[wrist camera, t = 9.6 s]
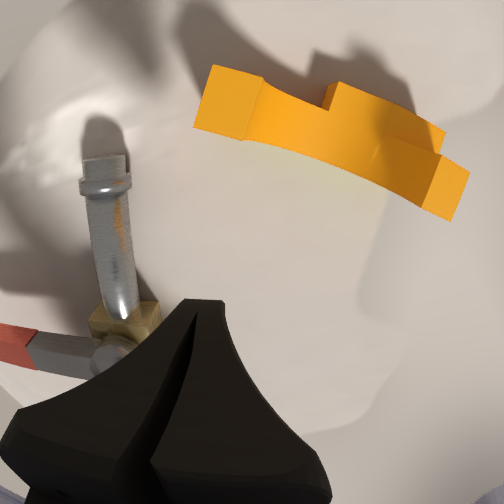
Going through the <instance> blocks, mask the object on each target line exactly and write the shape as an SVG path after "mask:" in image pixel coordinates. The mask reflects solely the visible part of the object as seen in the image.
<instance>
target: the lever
mask: <svg viewBox="0 0 504 504" xmlns="http://www.w3.org/2000/svg"><path fill="white" fill-rule="evenodd" d="M136 347H137V345H136V344H135V343H133V342H132V341H131V340H129V339H127V338H125V337H123V336H120V335H107V336H105V337H103V338H102V339H97V338H88V337H79V336H71V335H64V334H57V333H50V332H43V331H38V330H36V329H30V328H24V327H18V326H13V325H7V324H2V323H0V361H3V362H6V363H10V364H13V365H17V366H21V367H25V368H29V369H33V370H41V371H45V372H49V373H54V374H59V375H64V376H69V377H74V378H80V379H85V380H90V379H92V378H93V377H95V376H97V375H98V374H100V373H102V372H103V371H105V370H107V369H108V368H110V367H111V366H112V365H114V364H115V363H117V362H118V361H119V360H121V359H122V358H124V357H125V356H126V355H127V354H129V353H130V352H131V351H132V350H133V349H134V348H136Z"/></svg>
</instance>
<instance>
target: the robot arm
mask: <svg viewBox="0 0 504 504" xmlns="http://www.w3.org/2000/svg"><path fill="white" fill-rule="evenodd" d="M0 456H1V458H2V460H3V461H4V462H5V463H6V464H7V465H8V466H9V467H10V468H11V469H12V470H13V471H14V472H15V473H16V474H17V475H18V476H19V477H20V478H21V479H22V480H23V481H24V482H25V483H26V484H27V485H29V486H30V489H29V492H28V495H27V497H26V499H25V498H23V497H21V496H19V495H17V494H15V493H13V492H12V491H10V490H8V489H6V488H4V487H2V486H1V485H0V504H329V503H330V502H331V499H332V497H333V496H332V490H331V486H330V483H329V480H328V477H327V474H326V472H325V470H324V467H323V465H322V463H321V461H320V459H319V457H318V455H317V453H316V451H314V450H313V449H312V448H311V447H310V446H309V445H308V444H306V443H305V442H304V441H303V440H302V439H301V438H300V437H299V436H298V435H297V434H296V433H295V432H294V431H293V430H292V429H291V428H290V427H289V426H288V425H287V424H286V423H285V422H284V421H283V420H282V419H281V418H280V417H279V415H278V414H277V413H276V412H275V411H274V409H273V408H272V407H271V406H270V404H269V403H268V402H267V401H266V399H265V398H264V397H263V395H262V394H261V393H260V391H259V390H258V388H257V387H256V385H255V384H254V382H253V381H252V379H251V377H250V376H249V374H248V372H247V371H246V369H245V367H244V365H243V363H242V361H241V359H240V357H239V355H238V353H237V351H236V348H235V346H234V344H233V341H232V338H231V335H230V332H229V329H228V326H227V322H226V318H225V303H224V302H223V301H222V300H201V299H184V300H182V301H181V302H180V303H179V305H178V306H177V307H176V308H175V309H174V310H173V311H172V312H171V313H170V314H169V316H168V317H167V318H166V319H165V320H164V321H163V322H162V323H161V324H160V325H159V326H158V327H157V328H156V329H155V330H154V331H153V332H152V333H151V334H150V335H149V336H148V337H147V338H146V339H145V340H143V341H142V342H141V343H140V344H139V345H138V346H137V347H136V348H134V349H133V350H132V351H131V352H130V353H129V354H127V355H126V356H125V357H124V358H122V359H121V360H119V361H118V362H117V363H115V364H114V365H112V366H111V367H110V368H108V369H107V370H105V371H103V372H102V373H100V374H98V375H97V376H95V377H93V378H92V379H90V380H88V381H86V382H85V383H83V384H81V385H79V386H77V387H75V388H73V389H71V390H69V391H67V392H65V393H62V394H60V395H58V396H56V397H53V398H51V399H48V400H45V401H42V402H40V403H37V404H34V405H31V406H28V407H25V408H21V409H18V410H17V412H16V413H15V415H14V417H13V419H12V420H11V422H10V424H9V426H8V428H7V429H6V431H5V433H4V435H3V437H2V439H1V441H0ZM472 504H504V482H503V483H501V484H499V485H497V486H495V487H494V488H492V489H490V490H489V491H487V492H486V493H484V494H483V495H481V496H480V497H479V498H478V499H477V500H476V501H474V503H472Z"/></svg>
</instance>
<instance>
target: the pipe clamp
mask: <svg viewBox="0 0 504 504" xmlns="http://www.w3.org/2000/svg"><path fill="white" fill-rule="evenodd" d="M193 128H197V129H201V130H204V131H208V132H212V133H216V134H219V135H223V136H226V137H230V138H233V139H237V140H240V141H243V140H249V141H256V142H261V143H265V144H270V145H274V146H277V147H281V148H284V149H288V150H291V151H294V152H297V153H300V154H304V155H306V156H309V157H312V158H315V159H318V160H321V161H323V162H326V163H329V164H331V165H334V166H336V167H339V168H341V169H344V170H346V171H349V172H351V173H353V174H356V175H358V176H360V177H363V178H365V179H367V180H369V181H371V182H374V183H376V184H378V185H380V186H382V187H384V188H386V189H388V190H390V191H392V192H394V193H396V194H398V195H400V196H402V197H403V198H405V199H407V200H409V201H410V202H412V203H414V204H415V205H417V206H419V207H420V208H422V209H424V210H426V211H429V212H431V213H433V214H435V215H437V216H439V217H441V218H443V219H445V220H447V221H449V222H451V219H452V217H453V215H454V213H455V210H456V208H457V205H458V203H459V201H460V198H461V196H462V193H463V191H464V188H465V185H466V183H467V180H468V177H469V174H470V172H469V171H467V170H465V169H464V168H462V167H461V166H459V165H457V164H456V163H454V162H452V161H451V160H449V159H447V158H446V157H444V156H443V155H440V154H439V152H440V149H441V146H442V143H443V140H444V137H445V134H446V132H445V131H443V130H441V129H440V128H438V127H436V126H435V125H433V124H431V123H430V122H428V121H426V120H424V119H423V118H421V117H419V116H417V115H416V114H414V113H412V112H410V111H408V110H406V109H405V108H403V107H401V106H399V105H397V104H395V103H392V102H390V101H387V100H384V99H382V98H379V97H377V96H374V95H371V94H369V93H366V92H364V91H361V90H359V89H357V88H354V87H352V86H349V85H347V84H345V83H342V82H340V81H338V82H335V83H333V84H330V85H328V88H327V91H326V94H325V97H324V100H323V103H322V106H321V108H319V107H317V106H314V105H312V104H309V103H307V102H305V101H302V100H300V99H298V98H295V97H293V96H291V95H289V94H286V93H284V92H282V91H280V90H278V89H276V88H274V87H273V86H271V85H269V84H268V83H266V82H265V81H264V79H263V77H259V76H256V75H252V74H249V73H245V72H242V71H238V70H234V69H230V68H226V67H222V66H218V65H214V64H213V66H212V68H211V71H210V74H209V77H208V80H207V84H206V87H205V90H204V93H203V96H202V99H201V102H200V106H199V109H198V112H197V116H196V119H195V122H194V126H193Z"/></svg>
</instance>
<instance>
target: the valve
mask: <svg viewBox="0 0 504 504" xmlns="http://www.w3.org/2000/svg"><path fill="white" fill-rule="evenodd" d="M82 169H83V177H82V178H80V179H79V180H78V181H79V191H80V195H82V196H85V201H86V210H87V218H88V225H89V232H90V239H91V245H92V251H93V257H94V262H95V268H96V273H97V278H98V283H99V288H100V292H101V297H102V300H101V302H100V303H99V305H98V306H97V307H96V309H95V310H94V312H93V313H92V315H91V316H90V318H89V319H88V323H89V327H90V330H91V333H92V337H93V338H97V339H102V338H103V337H105V336H107V335H120V336H123V337H125V338H127V339H129V340H131V341H132V342H133V343H135V344H136V345H137V346H138V345H139V344H140V343H141V342H142V341H143V340H145V339H146V338H147V337H148V336H149V335H150V334H151V333H152V332H153V331H154V330H155V329H156V328H157V327H158V326H159V325H160V324H161V316H160V309H159V301H145V300H140V297H139V291H138V284H137V277H136V270H135V263H134V255H133V247H132V238H131V229H130V219H129V208H128V195H127V190H129V189H130V188H131V187H132V180H131V172H128V171H126V161H125V155H124V154H111V155H102V156H96V157H90V158H86V159H83V160H82Z"/></svg>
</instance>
